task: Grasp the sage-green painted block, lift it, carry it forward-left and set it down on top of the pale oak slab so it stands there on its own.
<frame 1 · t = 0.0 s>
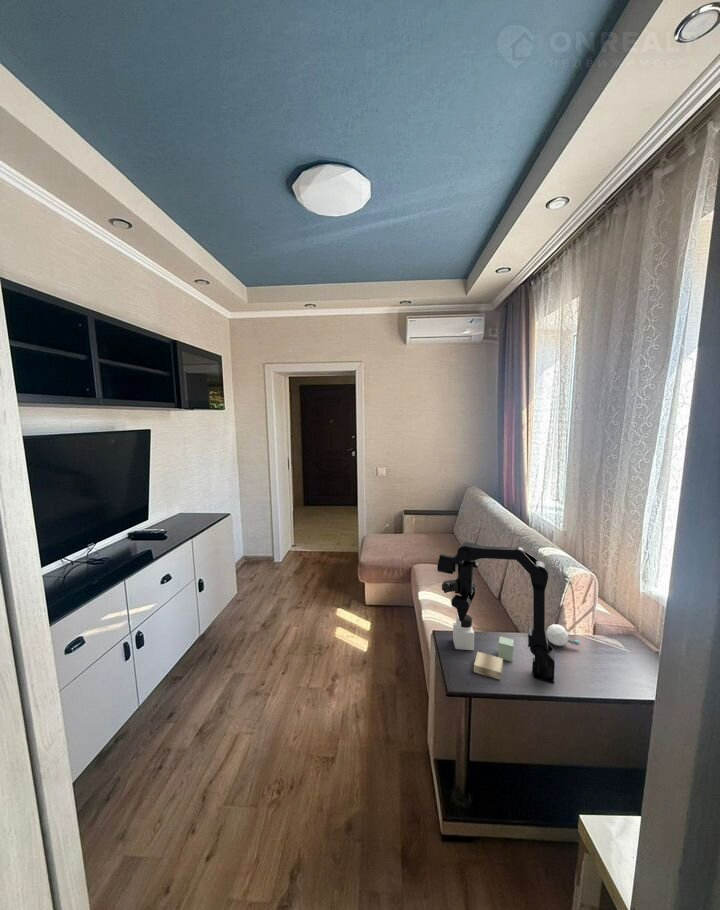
hand: (463, 616, 141), 15 cm above the table, fingers open, 9 cm apart
perfume bottle: (562, 646, 149), on the table
oak slab: (488, 669, 133), on the table
green block: (505, 656, 140), on the table
medicine bottle: (462, 645, 147), on the table
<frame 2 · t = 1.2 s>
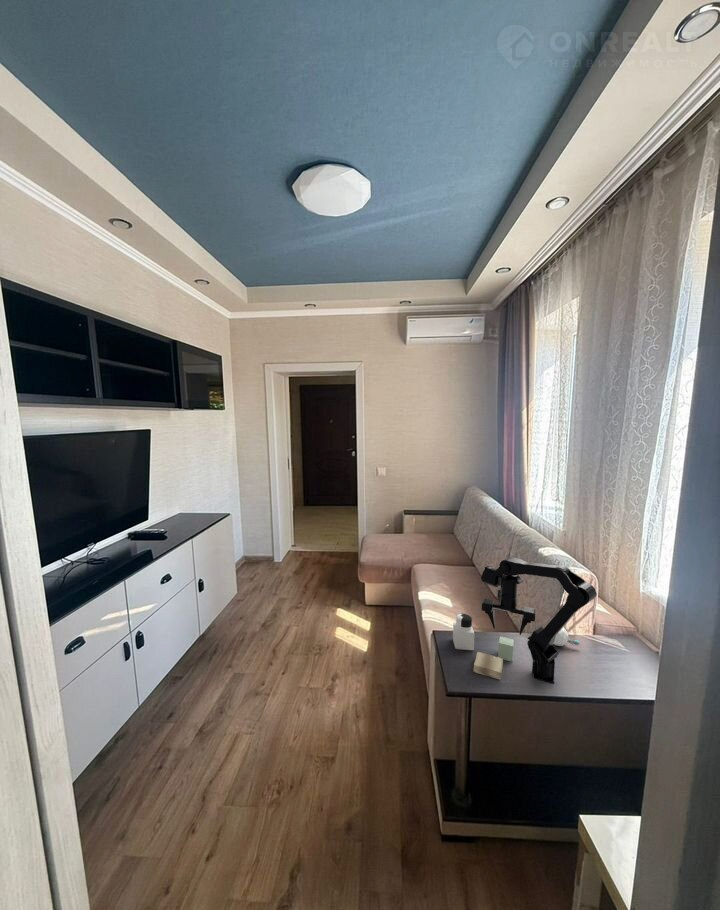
hand: (507, 631, 140), 10 cm above the table, fingers open, 9 cm apart
nothing on the table moved.
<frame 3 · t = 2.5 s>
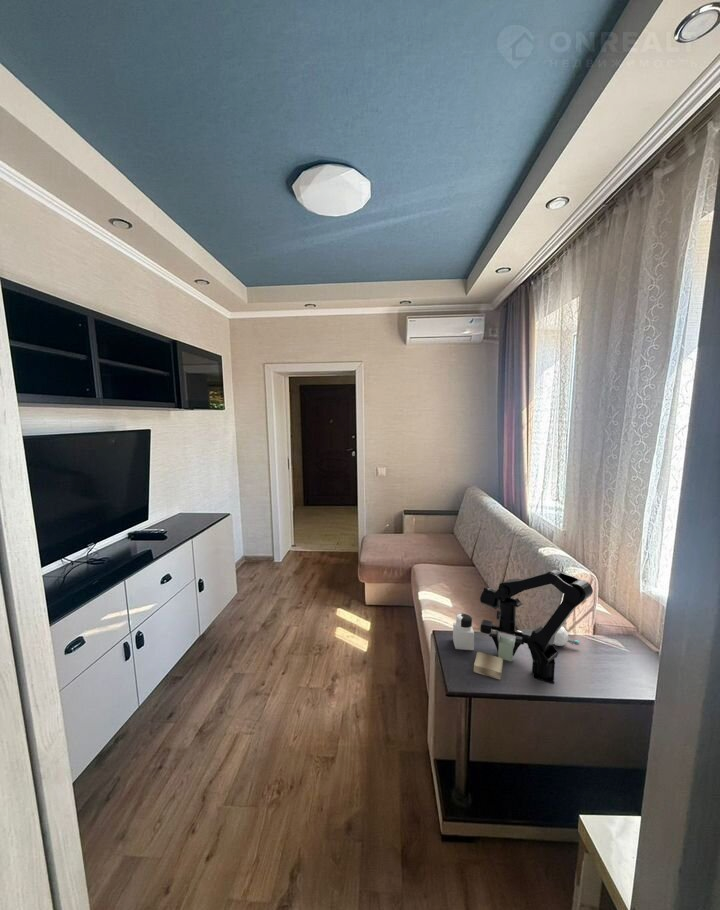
hand: (505, 653, 140), 1 cm above the table, fingers closed on green block, 5 cm apart
green block: (505, 656, 140), on the table, touching gripper
everything else where it was.
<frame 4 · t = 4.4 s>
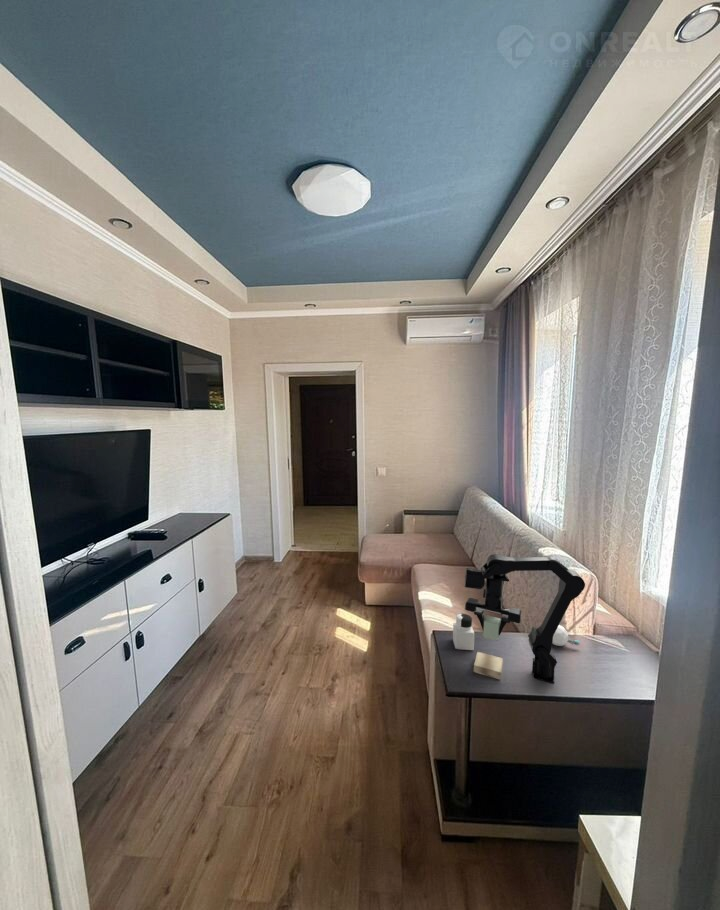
hand: (491, 632, 133), 13 cm above the table, fingers closed on green block, 5 cm apart
green block: (491, 635, 133), point 11 cm above the table, touching gripper
everything else where it was.
when the fingers open (5 cm above the table, at t = 6.3 s): green block drops 2 cm, resting on oak slab.
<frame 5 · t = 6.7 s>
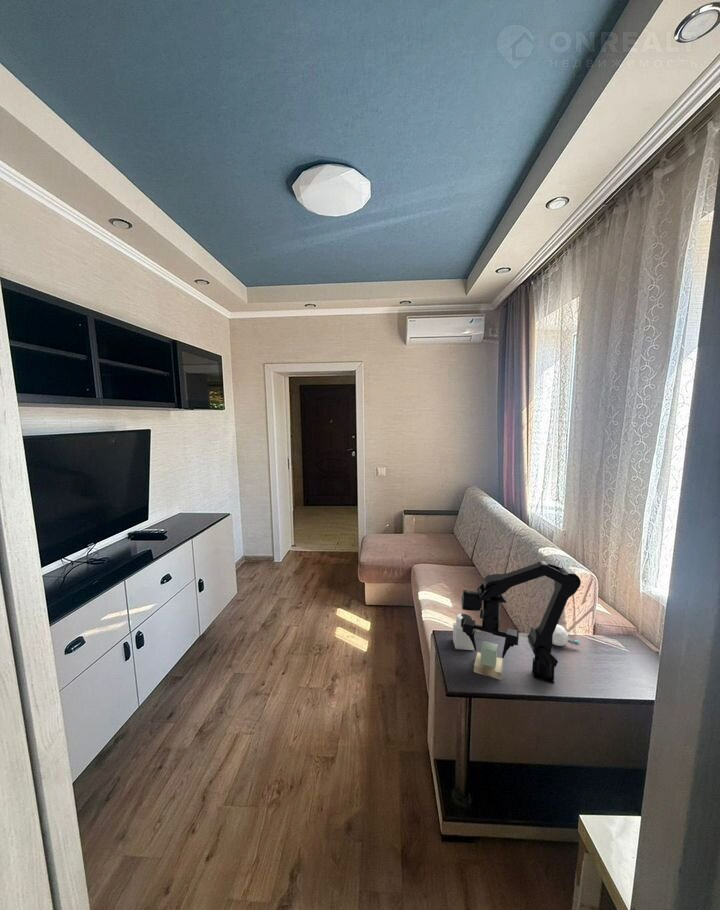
hand: (489, 654, 132), 5 cm above the table, fingers open, 9 cm apart
oak slab: (488, 669, 133), on the table, touching green block
green block: (488, 662, 132), point 2 cm above the table, touching oak slab
everything else where it was.
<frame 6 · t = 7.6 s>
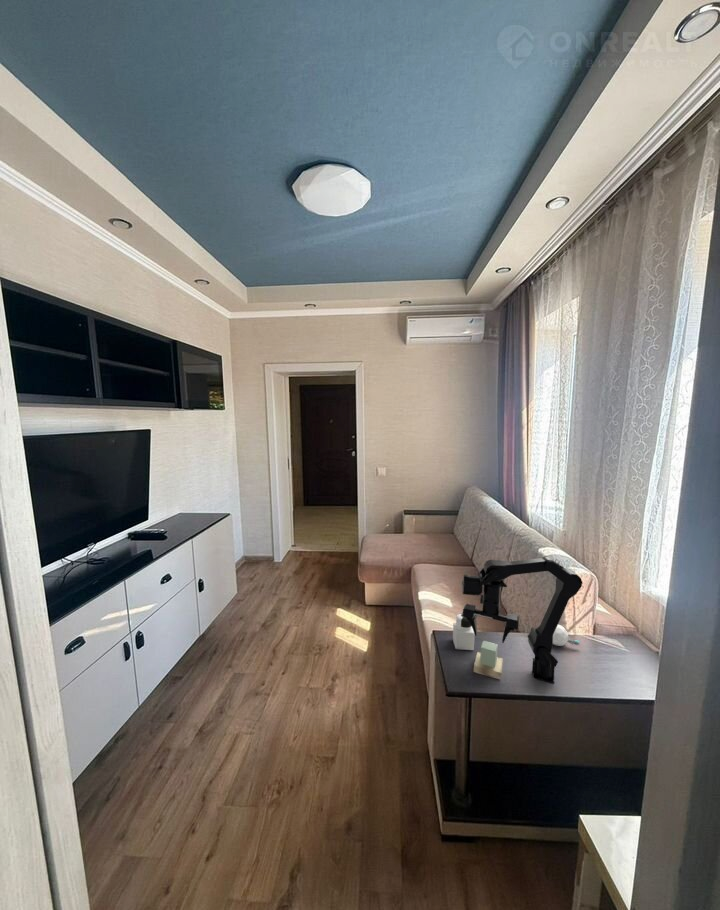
hand: (489, 638, 132), 11 cm above the table, fingers open, 9 cm apart
nothing on the table moved.
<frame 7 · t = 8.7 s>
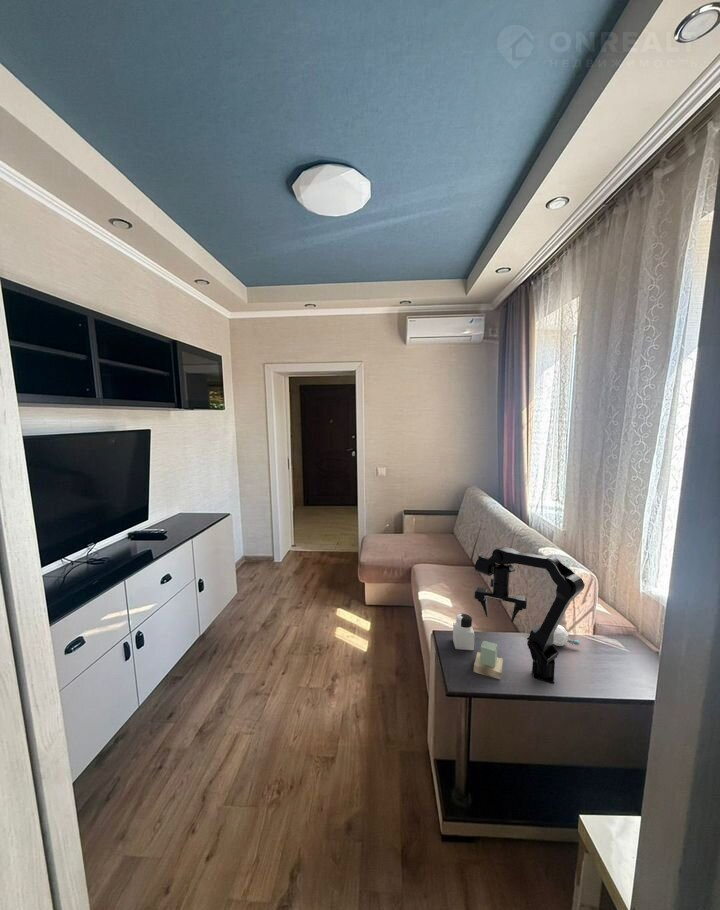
hand: (499, 619, 143), 13 cm above the table, fingers open, 9 cm apart
nothing on the table moved.
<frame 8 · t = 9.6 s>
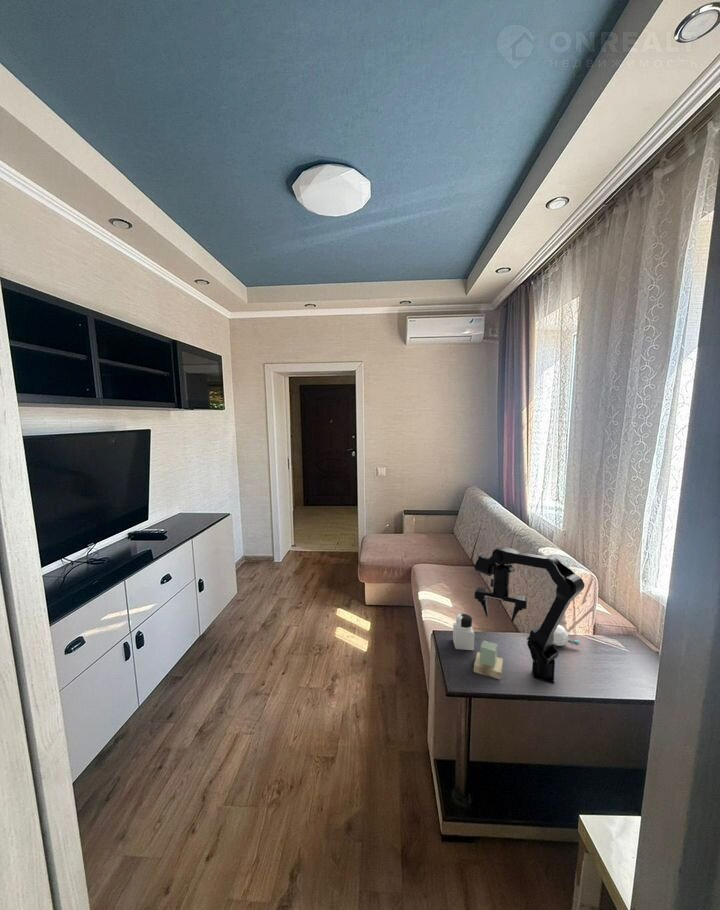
hand: (499, 619, 143), 13 cm above the table, fingers open, 9 cm apart
nothing on the table moved.
at the end: green block inside the target area on the oak slab (0.1 cm from its centre), point 3.0 cm above the oak slab's base; green block tilted 1°; the gripper is holding nothing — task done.
